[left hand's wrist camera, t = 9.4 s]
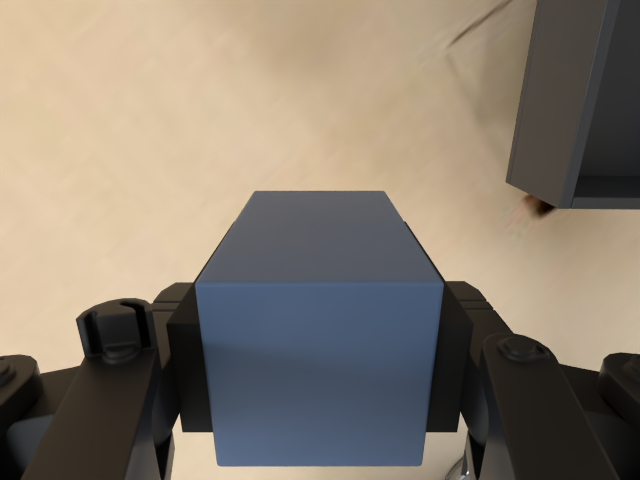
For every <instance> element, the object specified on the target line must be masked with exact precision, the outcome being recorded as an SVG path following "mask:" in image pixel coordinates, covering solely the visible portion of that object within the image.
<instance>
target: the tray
mask: <svg viewBox="0 0 640 480" xmlns="http://www.w3.org/2000/svg"><path fill="white" fill-rule="evenodd" d="M506 183H508V184H510V185H512V186H514V187H516V188H518V189H520V190H522V191H524V192H526V193H528V194H530V195H533V196H535V197H537V198H539V199H541V200H543V201H545V202H547V203H549V204H551V205H553V206H555V207H557V208H559V209H570V208H571V209H640V0H538V1H537V7H536V12H535V18H534V24H533V29H532V35H531V41H530V46H529V52H528V58H527V63H526V69H525V75H524V80H523V86H522V92H521V97H520V103H519V109H518V114H517V120H516V126H515V131H514V137H513V143H512V148H511V154H510V160H509V165H508V171H507V177H506Z"/></svg>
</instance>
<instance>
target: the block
mask: <svg viewBox="0 0 640 480" xmlns="http://www.w3.org/2000/svg"><path fill="white" fill-rule="evenodd" d="M443 287H444V284H443V281H442V280H441V278H440V277H439V275H438V274H437V272H436V270H435V269H434V267H433V266H432V264H431V263H430V261H429V260H428V258H427V257H426V255H425V253H424V252H423V250H422V249H421V247H420V246H419V244H418V243H417V241H416V240H415V238H414V236H413V235H412V233H411V232H410V230H409V229H408V227H407V226H406V224H405V223H404V221H403V219H402V218H401V216H400V215H399V213H398V212H397V210H396V209H395V207H394V206H393V204H392V202H391V201H390V199H389V198H388V196H387V195H386V193H385V192H384V191H255V192H254V193H253V194H252V196H251V198H250V199H249V201H248V202H247V204H246V205H245V207H244V208H243V210H242V212H241V213H240V215H239V216H238V218H237V219H236V221H235V222H234V224H233V225H232V227H231V229H230V230H229V232H228V233H227V235H226V236H225V238H224V239H223V241H222V243H221V244H220V246H219V247H218V249H217V250H216V252H215V253H214V255H213V256H212V258H211V260H210V261H209V263H208V264H207V266H206V267H205V269H204V270H203V272H202V274H201V275H200V277H199V278H198V280H197V281H196V284H195V288H196V297H197V305H198V313H199V321H200V329H201V337H202V345H203V353H204V361H205V370H206V378H207V386H208V394H209V402H210V410H211V418H212V426H213V435H214V443H215V451H216V459H217V464H218V466H420V465H421V464H422V459H423V451H424V443H425V434H426V426H427V418H428V410H429V402H430V394H431V385H432V377H433V369H434V361H435V353H436V345H437V336H438V328H439V320H440V312H441V304H442V296H443Z"/></svg>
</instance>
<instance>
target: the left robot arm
mask: <svg viewBox="0 0 640 480" xmlns="http://www.w3.org/2000/svg"><path fill="white" fill-rule="evenodd" d="M404 223H405V224H406V226H407V227H408V229H409V230H410V232H411V233H412V235H413V236H414V238H415V240H416V241H417V243H418V244H419V246H420V247H421V249H422V250H423V252H424V253H425V255H426V257H427V258H428V260H429V261H430V263H431V264H432V266H433V267H434V269H435V270H436V272H437V274H438V275H439V277H440V278H441V280H442V281H443V284H444V287H443V296H442V304H441V312H440V320H439V328H438V336H437V345H436V353H435V361H434V369H433V377H432V385H431V394H430V402H429V410H428V418H427V426H426V432H457V429H458V423H459V416H460V411H461V414H462V416H463V418H464V420H465V423H466V425H467V427H468V432H467V438H466V444H465V450H464V456H463V459H462V460H461V461H460V462H458V463H457V464H456V465H455V466H454V467H453V469H452V470H451V471H450V472H449V474H448V476H447V477H446V479H445V480H640V354H631V353H614V354H609V355H608V356H607V357H606V358H604V360H603V363H602V366H601V370H600V372H597V371H592V370H587V369H582V368H577V367H571V366H567V365H563V364H559V363H558V361H557V359H556V357H555V355H554V354H553V353H552V352H551V351H550V350H549V348H547V347H546V346H544V345H543V344H541V343H540V342H538V341H536V340H534V339H531V338H529V337H526V336H523V335H519V334H514V333H513V332H512V331H511V330H510V328H509V327H508V326H507V325H506V323H505V322H504V321H503V320H502V318H501V317H500V316H499V315H498V313H497V312H496V311H495V310H493V307H492V306H491V305H490V304H489V302H487V301H486V299H485V297H484V296H483V295H482V294H481V292H480V291H479V290H478V289H476V288H475V287H473V286H471V285H470V284H468V283H466V282H465V281H445V280H444V278H443V277H442V275H441V274H440V272H439V271H438V269H437V268H436V266H435V265H434V263H433V262H432V260H431V259H430V257H429V256H428V255H427V253H426V252H425V250H424V249H423V247H422V246H421V244H420V243H419V241H418V240H417V238H416V237H415V235H414V234H413V232H412V231H411V229H410V228H409V226H408V225H407V223H406V222H404ZM233 224H234V223H233ZM233 224H232V225H233ZM231 227H232V226H231ZM231 227H230V229H231ZM230 229H229V230H230ZM229 230H228V232H229ZM228 232H227V233H228ZM227 233H226V235H227ZM226 235H225V236H226ZM225 236H224V238H225ZM224 238H223V239H224ZM223 239H222V241H223ZM222 241H221V242H220V244H221V243H222ZM220 244H219V245H218V246H217V248H216V249H215V251H214V252H213V254H212V255H211V257H210V258H209V260H208V261H207V263H206V264H205V266H204V267H203V269H202V270H201V272H200V273H199V275H198V276H197V278H196V279H195V281H194V282H193V283H174V284H173V285H171V286H169V287H168V288H166V289H164V290H163V291H161V292H160V294H159V295H158V296H157V297H156V299H155V300H154V301H153V303H152V304H150V303H148V302H147V301H146V300H141V299H137V298H122V299H117V300H111V301H107V302H104V303H101V304H98V305H95V306H93V307H91V308H90V309H88V310H86V311H84V312H83V313H82V314H81V315H80V316H79V317H78V318H77V319H76V322H77V326H78V330H79V334H80V338H81V342H82V347H83V351H84V355H85V358H84V359H83V361H82V363H81V365H80V366H77V367H73V368H68V369H63V370H57V371H52V372H47V373H42V374H40V371H39V368H38V364H37V361H36V360H35V359H33V358H32V357H31V356H26V355H20V354H19V355H9V356H1V357H0V480H171V472H172V465H173V458H174V450H175V446H174V438H173V432H172V429H173V426H174V424H175V422H176V420H177V417H178V415H179V413H180V419H181V425H182V431H183V432H213V426H212V418H211V410H210V402H209V394H208V386H207V378H206V370H205V361H204V353H203V345H202V337H201V329H200V321H199V313H198V305H197V297H196V288H195V284H196V281H197V280H198V278H199V277H200V275H201V274H202V272H203V270H204V269H205V267H206V266H207V264H208V263H209V261H210V260H211V258H212V256H213V255H214V253H215V252H216V250H217V249H218V247H219V246H220Z"/></svg>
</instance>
